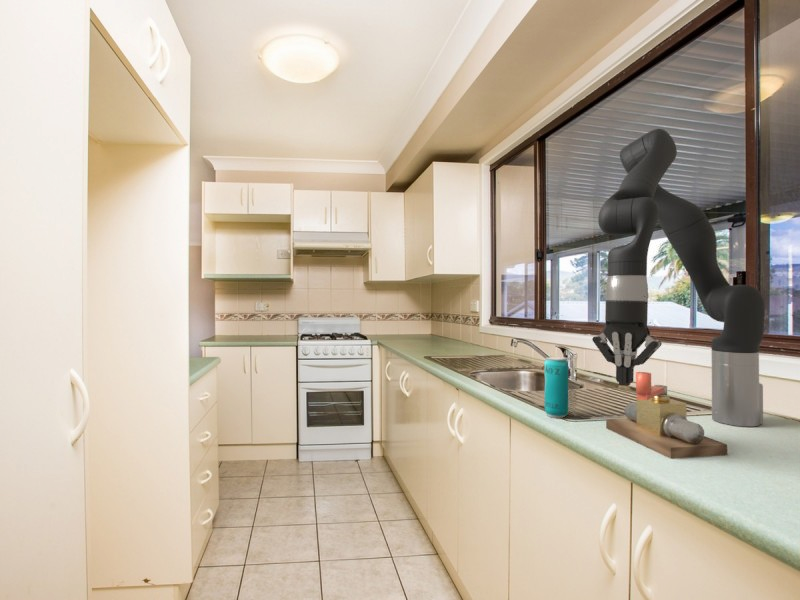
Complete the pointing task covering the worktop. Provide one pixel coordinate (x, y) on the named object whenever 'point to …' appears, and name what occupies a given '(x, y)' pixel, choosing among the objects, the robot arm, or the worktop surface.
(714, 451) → the valve board
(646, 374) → the valve lever
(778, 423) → the worktop surface
